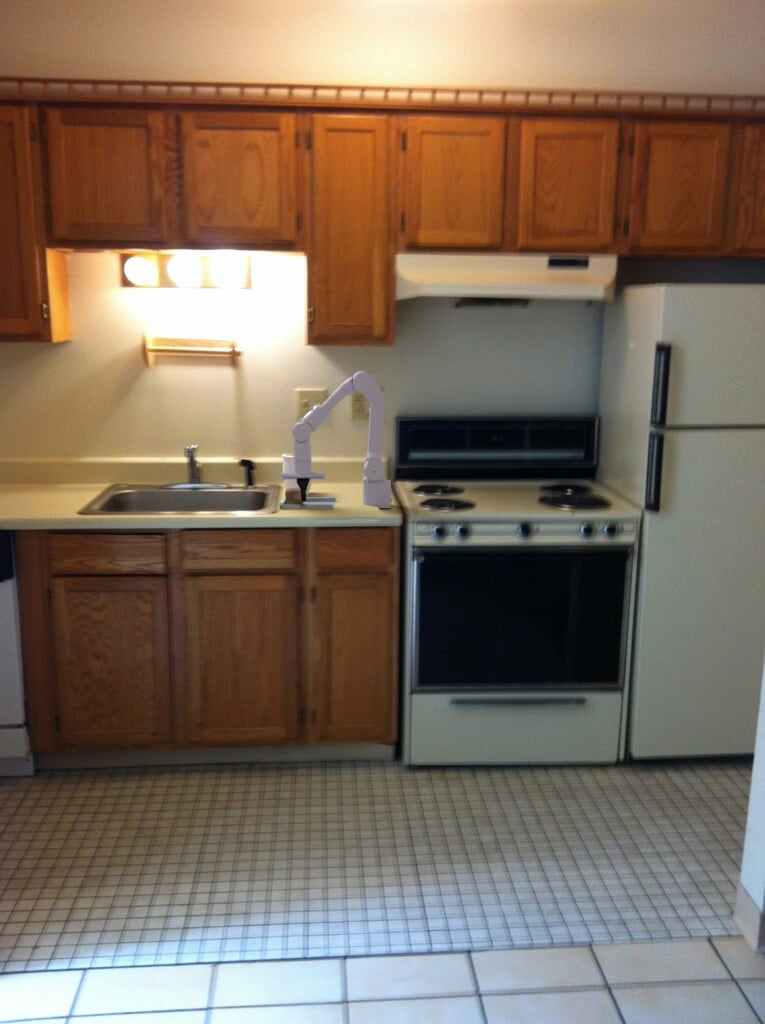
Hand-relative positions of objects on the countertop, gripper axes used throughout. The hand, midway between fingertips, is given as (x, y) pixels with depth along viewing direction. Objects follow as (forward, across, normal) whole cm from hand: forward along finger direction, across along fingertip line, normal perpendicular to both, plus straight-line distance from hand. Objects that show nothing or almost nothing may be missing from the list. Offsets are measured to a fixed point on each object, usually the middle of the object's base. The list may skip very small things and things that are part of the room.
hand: (304, 501), depth 277 cm
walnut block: (+1, -3, 0) cm, 3 cm away
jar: (+3, -4, +19) cm, 20 cm away
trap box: (+2, +1, 0) cm, 3 cm away
